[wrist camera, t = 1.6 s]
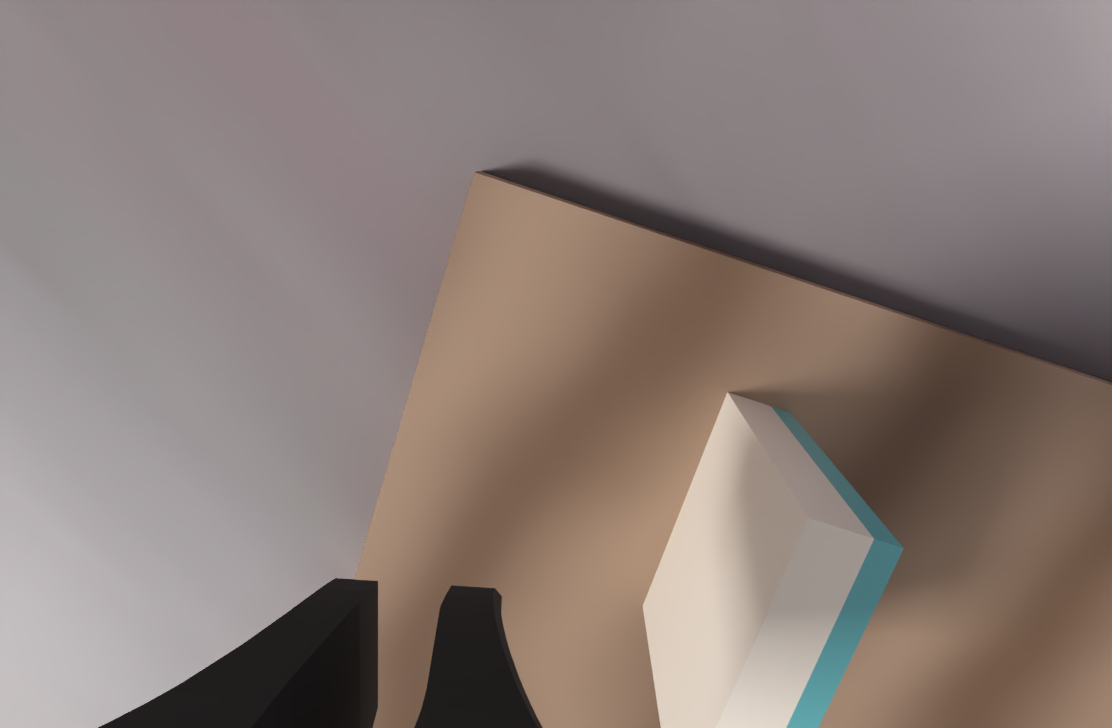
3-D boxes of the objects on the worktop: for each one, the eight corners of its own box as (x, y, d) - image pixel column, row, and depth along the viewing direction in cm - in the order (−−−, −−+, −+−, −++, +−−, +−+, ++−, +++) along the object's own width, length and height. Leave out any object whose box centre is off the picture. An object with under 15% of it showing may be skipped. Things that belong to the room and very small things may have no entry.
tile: (790, 412, 20) (903, 548, 13) (701, 624, 21) (761, 846, 14) (727, 391, 20) (808, 517, 13) (642, 606, 21) (674, 820, 14)
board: (1310, 448, 21) (1353, 466, 20) (1026, 926, 25) (1048, 964, 24) (479, 171, 20) (474, 172, 18) (318, 719, 23) (304, 748, 22)
